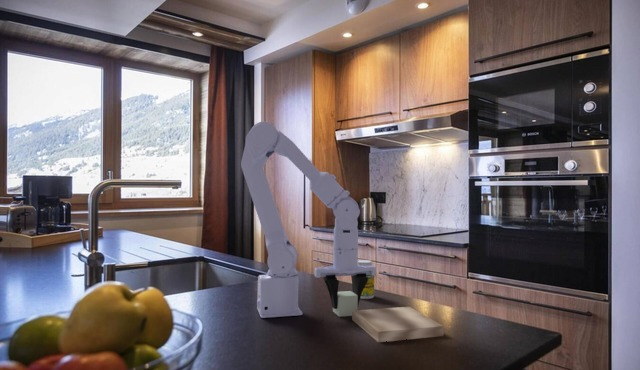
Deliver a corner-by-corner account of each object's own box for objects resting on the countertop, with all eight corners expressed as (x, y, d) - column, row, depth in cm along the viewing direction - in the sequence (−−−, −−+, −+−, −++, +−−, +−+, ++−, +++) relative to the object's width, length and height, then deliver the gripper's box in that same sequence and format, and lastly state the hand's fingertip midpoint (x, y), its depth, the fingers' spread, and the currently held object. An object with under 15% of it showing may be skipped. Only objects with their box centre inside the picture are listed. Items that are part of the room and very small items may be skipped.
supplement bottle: (365, 293, 115) (366, 258, 115) (378, 297, 111) (378, 261, 111) (350, 295, 112) (350, 260, 112) (362, 300, 108) (363, 263, 108)
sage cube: (338, 316, 93) (338, 296, 94) (332, 311, 98) (333, 291, 98) (357, 315, 95) (357, 295, 95) (350, 309, 99) (350, 290, 99)
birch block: (378, 345, 78) (378, 331, 78) (352, 321, 91) (352, 310, 91) (443, 338, 82) (443, 326, 82) (409, 317, 95) (409, 306, 95)
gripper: (320, 251, 91) (319, 314, 90) (381, 250, 95) (380, 309, 94) (312, 247, 97) (311, 305, 97) (369, 246, 101) (368, 301, 101)
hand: (344, 306), depth 96 cm, fingers closed on sage cube, 4 cm apart
